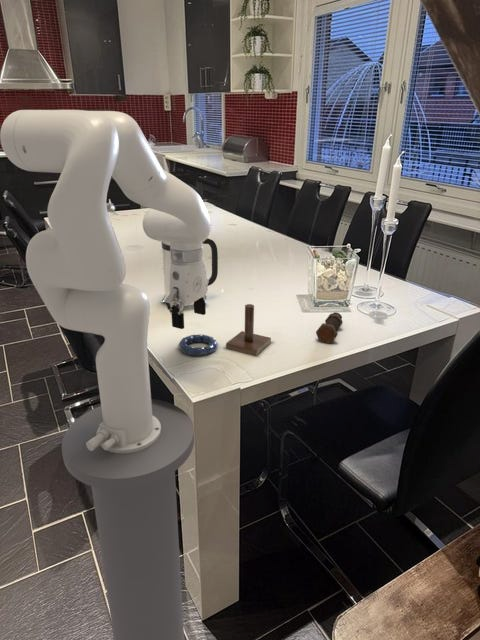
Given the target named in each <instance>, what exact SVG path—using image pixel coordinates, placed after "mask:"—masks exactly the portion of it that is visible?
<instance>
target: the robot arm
mask: <svg viewBox="0 0 480 640" xmlns="http://www.w3.org/2000/svg"><path fill="white" fill-rule="evenodd" d="M0 145H1V148H2V150H3V153H4V155H5V156H6V157H7V159H8V160H9V161H10V162H11V163H12V164H13V165H15V166H16V167H17V168H19V169H21V170H22V171H23V170H24V171H27V172H35V173H54V174H60V176H59V178H58V180H57V182H56V185H55V187H54V189H53V192H52V193H51V195H50V198H49V201H48V204H47V218H48V222H49V225H50V228H51V229H45V230H42V231H39V232H37V233H36V234H34V236H32V238H31V239H30V240H29V242H28V244H27V247H26V251H25V266H26V270H27V273H28V276H29V278H30V280H31V282H32V285H33V286H34V288H35V289H36V291H37V293H38V295H39V297H40V298H41V300H42V302H43V303H44V305H45V307H46V309H47V311H48V312H49V314H50V316H51V317H52V319H53V320H54V321H55V323H57V325H59V326H60V327H61V328H62V329H63V328H64V329H66V330H70V331H75V332H80V333H88V334H93V335H96V336H97V335H98V336H101V337H103V338H104V342H103V343H102V345H101V346H100V347H99V348H98V349H97V352H96V355H95V370H96V375H97V383H98V391H99V399H100V406H101V408H102V416H103V422H102V423H100V424H99V426H100V427H99V428H98V430H97V436H95V437H93V438H92V439H90V440H89V441H88V442H86V446H87V448H88V449H89V450H90V451H93V450H94V449H95V448H97V447H98V446H99V445H100V446H101V447H102V448H103V449H104V450H107V451H109V452H113V453H120V454H126V453H133V452H138V451H141V450H143V449H146V448H148V447H149V446H151V445H152V444H154V443H155V442H156V441H157V440H158V438H159V437H160V434H161V424H160V422H159V420H158V419H157V418H156V417H154V416H153V415H152V404H151V399H152V392H151V380H150V379H151V378H150V367H149V354H148V353H149V352H148V332H149V322H150V316H151V304H150V299H149V297H148V295H147V294H146V293H145V291H143V290H142V289H140V288H138V287H136V286H133V285H130V284H127V283H126V284H125V283H123V282H124V281H125V278H126V274H127V267H126V262H125V257H124V254H123V252H122V248H121V245H120V243H119V240H118V238H117V235H116V232H115V229H114V226H113V224H112V221H111V218H110V214H109V212H108V211H107V198H108V197H107V196H108V192H109V186H110V183H111V179H112V178H113V180H114V181H115V183H116V184H117V185H118V187H119V188H120V189H121V191H122V192H123V194H124V195H125V197H127V198H128V199H129V200H130V201H132V202H133V203H136V204H138V205H140V206H142V207H145V208H148V210H147V211H146V212H145V213H144V215H143V217H142V229H143V232H144V234H145V235H146V236H147V237H148V238H150V239H151V240H154V241H158V242H162V241H167V242H170V251H171V262H172V263H171V269H170V294H169V296H168V297H167V298H165V299H164V301H165V303H164V304H165V305H166V308H167V310H168V312H169V313H170V314H171V327H173V328H175V329H179V330H183V329H185V315H184V313H183V311H184V307H185V306H184V305H188V306H191V305H190V304H192V303H193V302H194V304H193V313H194V314H197V315H202V316H205V315H206V313H207V312H206V305H205V302H206V300H207V293H208V287H209V286H208V282H209V279H208V277H207V276H208V275H207V269H206V263H205V259H204V255H203V254H204V253H203V244H202V242H204V241H205V240H206V239H207V238H208V239H209V236H210V233H211V229H212V228H211V218H210V215H209V211H208V208H207V207H206V205H205V203H204V200H203V199H202V197H201V195H200V194H199V193H198V192H197V191H196V189H194V188H193V187H191V186H190V185H188V184H187V183H185V182H184V181H182V180H181V179H179V178H178V177H176V176H175V175H173V174H172V173H170V172H169V171H167V170H165V169H163V167H162V165H161V163H160V161H159V159H158V157H157V156H156V154H155V153H154V150H153V149H152V147H151V145H150V143H149V141H148V140H147V138H146V136H145V135H144V133H143V130H142V129H141V127H140V126H139V124H138V123H137V121H136V120H135V118H133V117H132V116H130V115H129V114H127V113H125V112H122V111H117V110H116V111H115V110H84V109H83V110H82V109H19V110H16V111H13V112H11V113H10V114H9V115H8V116H6V118H5V119H4V120H3V123H2V124H1V127H0ZM179 300H181V301H179ZM177 304H180V306H179V308H177V307H176V305H177Z"/></svg>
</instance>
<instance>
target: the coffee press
mask: <svg viewBox="0 0 480 640" xmlns="http://www.w3.org/2000/svg"><path fill="white" fill-rule="evenodd" d="M160 242H161V249H162V262H163V282H164V283H163V284H164V296H163V298H162V299H161V302H162V303H163V304H166V303H165V299H166V298H167V297H168V296H169V294H170V269H171V263H172V262H171V251H170V242H167V241H160ZM202 245H208V246H209V248H210V250H211V275H210V278H209V279H208V280H209V282H208V287H209V286H211V285H213V284H214V283H215V282H216V280H217V278H218V274H219V272H218V271H219V256H218V254H219V253H218V245H217V244H216V242H215V241H214V240H213V239H211V238H209V237H208V238H207V239H206V240H205V241H204V242H202ZM179 301H181V300H179ZM179 306H180V304H177V305H176V307H177V308H179ZM186 306H194V302H193V303H192V304H190V305H184V307H186ZM205 306H207V301H205Z"/></svg>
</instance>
